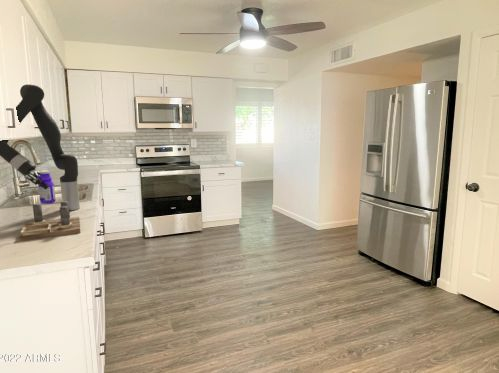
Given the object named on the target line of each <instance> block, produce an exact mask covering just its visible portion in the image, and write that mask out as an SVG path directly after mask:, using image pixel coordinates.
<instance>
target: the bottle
mask: <svg viewBox="0 0 499 373" xmlns="http://www.w3.org/2000/svg"><path fill="white" fill-rule="evenodd" d="M39 171H40V179H41V180H42V182H44V183H45V184H47V185H48V186H49V187H48V188H47V189H44V188H43V187H42V186H40V185H38V184H37V185H38V186H37V187H38V193H39V194H38V195H39V202H40V204H41V205H46V204H47V205H49V204H52V205H53V204H55V202H56V200H57V199H56V198H57V197H56V191H55V184H54V181H53V178H52V176H51V175H50V170H47V169H46V170H42V171H41V170H39Z"/></svg>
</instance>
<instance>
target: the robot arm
mask: <svg viewBox="0 0 499 373" xmlns="http://www.w3.org/2000/svg"><path fill="white" fill-rule="evenodd" d="M19 93H20V97H21V101H19V103H18V104H17V105H16V106H15V107H16V110H17V116H18V120H19V122H20V124H21V123H22V122H23V121H24V119H25V118H26V117H27V116H28V115H29V114H30V113H31V115H32V117H33V119H34V122H35V124H36V125H37V127H38V130H39V132H40V133H41V136H42V137H43V139H44V141H45V143H46V146H47V148H48V149H49V152H50V154H51V157H52V160H53V163H54V165H55V167H56V168H57V169H58V170H61V171H64V174H63V175H62V176H60V177H59V183H60V184H59V185H60V194H61V195H60V196H61V202H64V201H68V202H69V211H73V210H74V211H77V210H80V208H81V206H80V195H79V185H78V176H79V163H78V158H77V157H76V156H75V155H74V154H73V155H72V154H65V153H64V150H63V149H62V146H61V138H62V135H61V131H60V128H59V126H58V125H57V123H56V121H55V119H54V118H53V117H52V115H51V114H50V113H49V112H48V111H47V109H46V108H45V106H44V104H43V102H42V101H43V100H44V98H45V91H44V89H42V87H40V86H38V85H35V84H30V83H29V84H24V85H22V86H21V88H20V89H19ZM9 141H10V139H9V140H2V141H0V157H1V158H2V159H3V160H4V161H6V162H7V163H8V164H9V165H10V166H11V167H12V168H14V169H15V170H16V171H17V172H19V173H20V174H21V175H23V177H25V179H27V180H28V181H29V182H30V183H33V184H34V185H36V186H37V185H40V186H42V187H43V188H44V189H47V188H48V187H49V186H48V185H47V184H45V183H44V182H42V180H41V179H40V171H43V170H38V169H36V168H37V166H36V164H35V163H33V162H32V161H31V160H30V159H29V158H28V157H26V156H24V155H22V153H21V152H19V151H18V150H16V149H15V148H13V147H12V146H10V145H9Z"/></svg>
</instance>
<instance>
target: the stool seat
mask: <svg viewBox="0 0 499 373" xmlns="http://www.w3.org/2000/svg"><path fill="white" fill-rule="evenodd" d="M32 212H33V221H30V222H26V223H25V224H24V226H23V227H22V229H21V231H20V236H19V241H27V240H28V241H29V240H34V239H42V238H51V237H59V236H65V235H74V234H81V223H80V222H81V221H80V216H76V217H72V216H71V215H70V210H69V202H68V201H64V202H62V201H61V202H60V207H59V214H60V218H57V219H49V220H45V219H44V218H43V216H44V215H43V209H42V203H35V204H33V205H32Z"/></svg>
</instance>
